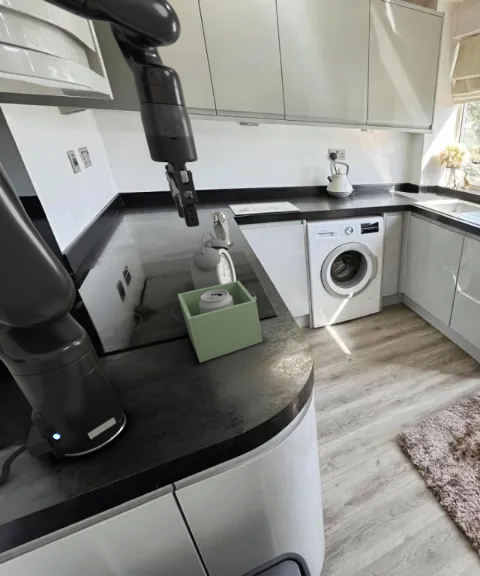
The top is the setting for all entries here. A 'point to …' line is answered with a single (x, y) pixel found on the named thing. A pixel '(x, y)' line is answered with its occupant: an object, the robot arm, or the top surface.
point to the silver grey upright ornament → (220, 225)
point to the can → (215, 301)
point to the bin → (221, 322)
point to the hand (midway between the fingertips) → (189, 221)
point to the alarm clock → (212, 264)
